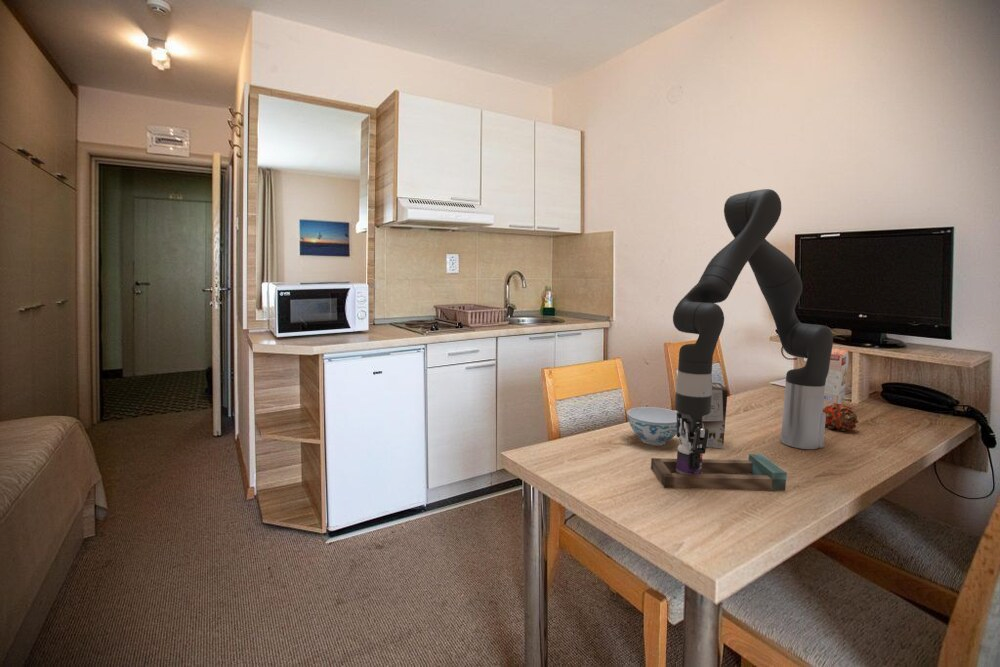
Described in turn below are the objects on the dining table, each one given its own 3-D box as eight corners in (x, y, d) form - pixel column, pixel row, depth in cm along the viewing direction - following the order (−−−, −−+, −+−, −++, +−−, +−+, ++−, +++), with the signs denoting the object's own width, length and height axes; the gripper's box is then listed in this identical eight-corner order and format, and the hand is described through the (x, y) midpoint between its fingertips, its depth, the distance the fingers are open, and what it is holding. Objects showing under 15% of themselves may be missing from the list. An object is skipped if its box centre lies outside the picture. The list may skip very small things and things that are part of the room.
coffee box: (724, 449, 135) (728, 389, 133) (698, 447, 136) (702, 388, 134) (717, 438, 144) (720, 382, 142) (693, 436, 145) (696, 381, 143)
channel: (760, 470, 120) (761, 454, 120) (785, 490, 110) (786, 472, 109) (651, 468, 121) (651, 452, 121) (664, 487, 110) (665, 470, 110)
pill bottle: (698, 485, 112) (701, 442, 111) (673, 479, 115) (675, 438, 113) (703, 476, 116) (705, 436, 115) (678, 471, 119) (681, 431, 118)
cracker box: (837, 416, 166) (844, 354, 164) (816, 413, 170) (822, 352, 167) (844, 408, 177) (850, 349, 174) (824, 405, 181) (830, 347, 178)
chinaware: (621, 432, 148) (622, 406, 147) (672, 433, 148) (674, 407, 147) (632, 450, 133) (634, 421, 132) (690, 451, 133) (691, 423, 132)
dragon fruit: (855, 440, 147) (817, 434, 159) (871, 421, 150) (831, 416, 161) (842, 419, 146) (804, 413, 157) (858, 399, 148) (819, 395, 159)
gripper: (723, 399, 106) (718, 477, 108) (698, 384, 120) (694, 452, 122) (687, 399, 106) (682, 476, 108) (666, 383, 120) (663, 452, 122)
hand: (689, 463), depth 115 cm, fingers closed on pill bottle, 5 cm apart
